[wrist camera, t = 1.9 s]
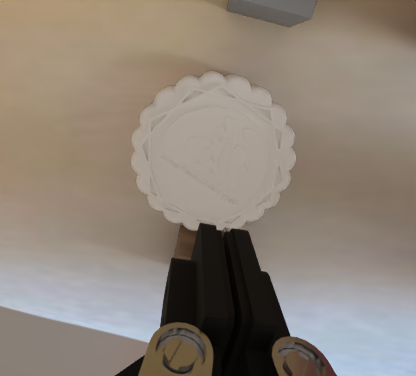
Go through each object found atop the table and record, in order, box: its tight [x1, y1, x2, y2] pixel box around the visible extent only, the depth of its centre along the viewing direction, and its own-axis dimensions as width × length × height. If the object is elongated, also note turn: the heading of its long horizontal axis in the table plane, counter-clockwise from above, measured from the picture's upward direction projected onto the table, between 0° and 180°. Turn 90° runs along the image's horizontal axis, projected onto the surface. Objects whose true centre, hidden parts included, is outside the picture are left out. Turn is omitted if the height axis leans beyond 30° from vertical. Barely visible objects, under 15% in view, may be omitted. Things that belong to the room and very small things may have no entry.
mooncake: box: [130, 71, 296, 231], centre depth 22 cm, size 12×12×4 cm
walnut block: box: [174, 225, 224, 260], centre depth 25 cm, size 4×4×4 cm
